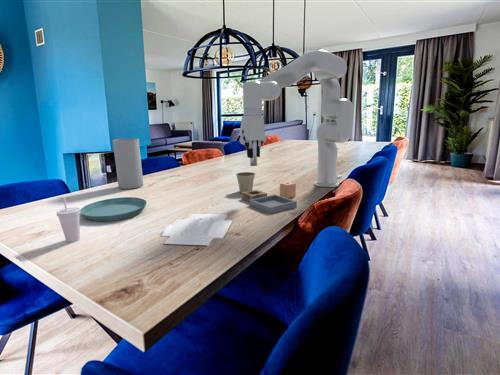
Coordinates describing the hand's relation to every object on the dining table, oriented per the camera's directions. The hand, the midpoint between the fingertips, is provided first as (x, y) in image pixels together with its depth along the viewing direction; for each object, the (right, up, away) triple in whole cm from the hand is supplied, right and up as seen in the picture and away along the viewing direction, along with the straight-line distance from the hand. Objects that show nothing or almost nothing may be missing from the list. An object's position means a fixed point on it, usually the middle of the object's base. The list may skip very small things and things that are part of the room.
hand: (253, 156), depth 135 cm
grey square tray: (+8, -21, -6) cm, 23 cm away
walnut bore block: (0, -18, +4) cm, 19 cm away
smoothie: (-57, -30, -36) cm, 74 cm away
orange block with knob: (+16, -17, +9) cm, 25 cm away
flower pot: (-3, -15, +19) cm, 24 cm away
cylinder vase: (-65, -13, +33) cm, 74 cm away
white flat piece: (-19, -28, -28) cm, 44 cm away
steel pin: (0, -4, +1) cm, 4 cm away
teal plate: (-55, -24, -10) cm, 60 cm away
